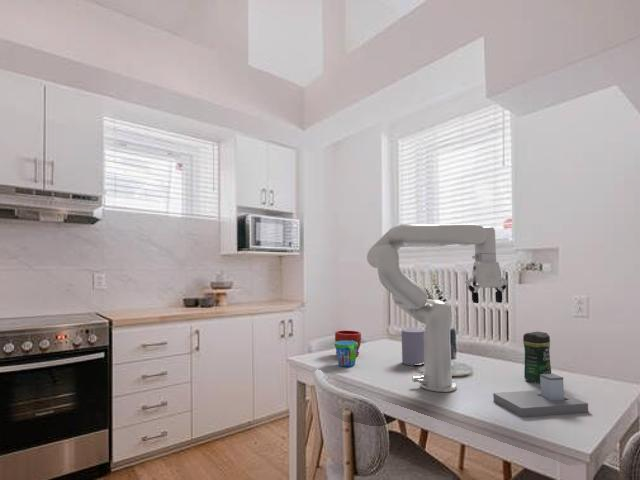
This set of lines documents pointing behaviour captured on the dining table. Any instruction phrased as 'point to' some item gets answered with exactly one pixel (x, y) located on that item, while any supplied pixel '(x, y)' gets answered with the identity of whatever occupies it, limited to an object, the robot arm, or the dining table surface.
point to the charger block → (552, 387)
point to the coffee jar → (536, 355)
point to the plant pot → (348, 337)
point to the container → (412, 346)
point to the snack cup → (346, 352)
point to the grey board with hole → (538, 403)
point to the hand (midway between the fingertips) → (487, 302)
